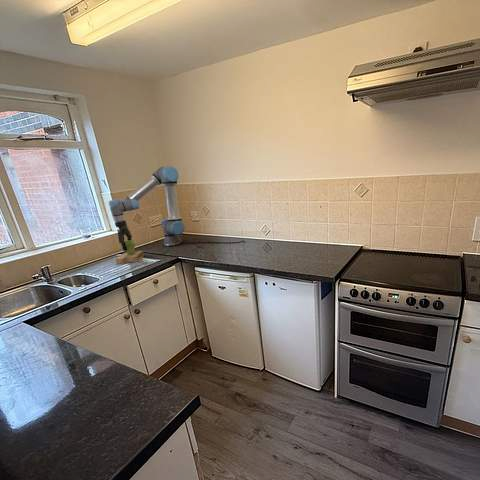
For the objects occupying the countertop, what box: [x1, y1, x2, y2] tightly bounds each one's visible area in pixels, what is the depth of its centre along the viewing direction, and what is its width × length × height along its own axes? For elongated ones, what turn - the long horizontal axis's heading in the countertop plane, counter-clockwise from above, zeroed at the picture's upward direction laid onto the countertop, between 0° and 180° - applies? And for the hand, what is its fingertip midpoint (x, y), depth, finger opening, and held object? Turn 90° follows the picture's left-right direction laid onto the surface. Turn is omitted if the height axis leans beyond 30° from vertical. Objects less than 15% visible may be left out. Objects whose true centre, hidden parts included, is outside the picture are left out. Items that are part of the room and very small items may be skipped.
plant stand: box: [115, 250, 146, 265], centre depth 232 cm, size 16×16×4 cm
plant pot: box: [124, 239, 137, 254], centre depth 232 cm, size 9×9×9 cm
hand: (128, 248), depth 229 cm, fingers open, 13 cm apart
